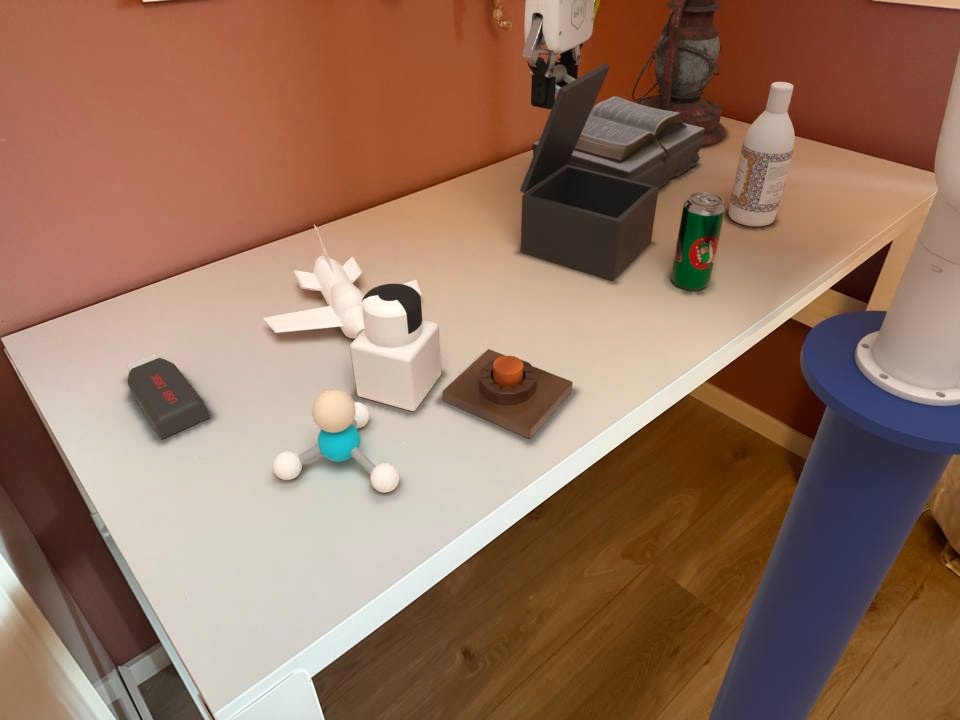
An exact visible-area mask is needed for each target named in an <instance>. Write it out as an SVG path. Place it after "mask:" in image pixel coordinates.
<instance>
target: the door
mask: <svg viewBox="0 0 960 720" xmlns="http://www.w3.org/2000/svg"><path fill="white" fill-rule="evenodd" d="M610 68H611V64H608V63H607V62H605V63H603V64H602V65H600V66H597V67H596V68H594V69H592V70H590V71H589V72H587V73H585V74H583V75H582V76H580V77H577V79H574V78H573V77H571V76H569V75H568V74H567V69H566V68H565V66H563V65H557V66H554V71H553V76H554V77H556V84H557V83H558V82H560V81H562V80H564V81H565V82H567V83H568V84H567V85H565V86H564V87H562V88H561V87H559V86H557V85H556V86H555V93H556V94H555V95H556V96H555V102H554V104H553V107H552V109H551V110H550V112H549V115H548V117H547V120H546V122H545V124H544V127H543V130H542V132H541V136H540V138H539V140H538V141H539V143H538V145H537V148H536V151H535V153H534V156H533V155H532V158H531V161H530V163H529V166H528V168H527V172H526V174H525V176H524V179H523V182H522V183H521V187H520V189H519V191H520V192H521V193H523V195H524V194H525V193H526V192H528V191H529V190H531V189H532V188H534V187H535V186H536V185H538V184H539V183H541V182H542V181H543V180H544V179H546V178H547V177H549V176H550V175H552V174H553V173H554V172H556V171H557V170H559V169H560V168H561V167H563V166H564V165H566V164H567V163H569V160H570V158H571V156H572V153H573V151H574V149H575V147H576V144H577V142H578V140H579V137H580V135H581V133H582V131H583V128H584V126H585V124H586V121H587V119H588V117H589V115H590V113H591V111H592V109H593V108H594V106H595V104H596V100H597V98H598V96H599V94H600V92H601V90H602V86H603V85H604V82H605V80H606V78H607V75H608V73H609V71H610Z"/></svg>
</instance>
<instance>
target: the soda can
mask: <svg viewBox="0 0 960 720" xmlns="http://www.w3.org/2000/svg"><path fill="white" fill-rule="evenodd" d="M724 203H725V201H724V198H723V197H722V196H720V195H718V194H716V193H713V192H704V191H698V192H693V193H691V194H689V195H688V196H687V200H686V201H684V203H683V206H682V212H681V217H680V223H679V227H678V228H679V229H678V234H677V240H676V245H675V246H676V247H675V252H674V257H673V263H672V268H671V274H670V279H671V280H672V282H673V283H674V284H675V286H677V287H678V288H680V289H683V290H687V291H700V290H702V289H704V288H706V287H707V286H708V285H710V283H711V279H712V274H713V269H714V264H715V259H716V255H717V250H718V246H719V241H720V236H721V232H722V227H723V222H724V217H725V213H726V208H725V205H724Z"/></svg>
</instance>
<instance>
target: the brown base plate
mask: <svg viewBox="0 0 960 720" xmlns="http://www.w3.org/2000/svg"><path fill="white" fill-rule="evenodd" d="M501 356H506V355H505V354H503V353H500V352H497V351H495V350H492V349H490V348H488V349H487V350H485V351H484V352H483V353H481V355H480V356H478V358H477V359H475V361H474V362H472V363H471V364H470V365H469V366H468V367H467V368H466V369H464V371H462V372H461V373H460V374H459V375H458V376H457V377H456V378H455V379H454V380H453V381H451V382H450V383H449V384H448V385H447V386H446V387H445V388H444V389H443V390H442V401H443V402H445V403H448V404H450V405H452V406H454V407H456V408H459V409H461V410H464V411H466V412H468V413H470V414H473V415H475V416H476V417H479V418H481V419H483V420H486V421H488V422H490V423H492V424H494V425H497V426H499V427H501V428H504V429H506V430H508V431H510V432H512V433H515V434H517V435H520V436H522V437H524V438H526V439H529V440H531V439H532V437H534V435H535V434H536V433H537V432H538V431H539V429H540V428H541V427H542V426H543V425H544V424H546V423H545V422H546V421H548V420H549V418H550V417H551V416H552V415H553V414H554V412H555V411H556V410H557V409H558V408H559V407H560V406H561V404H563V402H564V401H565V400H566V398H568V396H569V395H570V394H571V393H572V392H573V381H572V380H569V379H566V378H563V377H561V376H559V375H556V374H554V373H551V372H548V371H547V370H543V369H542V368H538V367H536V366H533V365H532V364H531V363H530V362H528V361H526V360H523V359H521V358H519V359H520V360H521V361H522V362H523V380H522V381H521V382H520V383H519V384H518V385H515V386H501V385H499V384H497V383H496V382H495V381H494V379H493V363H494V361H495V360H496V359H497V358H499V357H501Z"/></svg>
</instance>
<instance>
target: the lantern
mask: <svg viewBox="0 0 960 720" xmlns="http://www.w3.org/2000/svg"><path fill="white" fill-rule="evenodd" d="M666 6H667V8H669V9H671V11H670V13H669V16H668V19H667V22H666V24H665V25H664V26H663V28H662V30H661V31H660V36H659V38H658V41H657V44H656V45H655V46H654V47H652V49H651V54H650V56H649V57H648V59H647V61H646V62H645V64H644V66H643V68H642V69H641V71H640V73H639V75H638V77H637V79H636V81H635V83H634V86H633V89H632V91H631V98H632V100H633V102H636V103H637V104H640V105H644V106H647V107H651V108H655V109H660V110H666V111H672V112H678V113H679V114H680V118H681V120H682V122H683V123H685V124H689V125H694V126H698V127H702V128H704V129H705V131H704V134H703V141H702V145H701V148H705V147H709V146H712V145H716V144H718V143H720V142H721V141H723V139H724V138H725V136H726V128H725V127H724V126H723V124H722V123H721V122H720V121H721V117H722V108H721V106H720V105H719V104H717V103H716V102H714V101H713V100H711V99H710V100H709V99H706V98H703V97H701V96H702V95H703V93H704V91H705V89H706V88H707V86H709V84H710V83H711V81H712V80H713V79H714V78H715V76H719V75H720V74H721V68H720V67H721V64H722V60H723V59H722V58H723V52H722V51H723V50H722V47H721V44H720V37H719V35H720V33H719V29H718V27H717V26H716V25H715V23H714V19H715V13H716V11H718V10H721V9H722V7H723V5H722V4H721V3H720V2H717V1H716V0H669V1H668V2H666ZM719 53H720V62H719V64H718V63H717V62H718V58H719ZM653 61H654V74H655V80H656V82H655V83H654V82H653V80H652V77H651V74H650V68H651V65H652V63H653ZM648 65H649V66H648ZM647 66H648V75H649V79H650V82H651V84H652V85H653V86H652V87H651V88H650V89H649V90H647V92H645V93H644V94H643V95H642V96H640V97H638V98H635V92H636V89H637V87H638V84H639V81H640V79H641V77H642V76H643V74H644V72H645V70H646V68H647ZM716 67H717V70H716V71H715V69H716ZM657 86H658V88H657ZM654 89H656V91H657V93H658V94H655V95H650V96H648V95H649V94H650V93H651V92H652V91H653V90H654ZM646 96H647V97H646Z"/></svg>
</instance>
